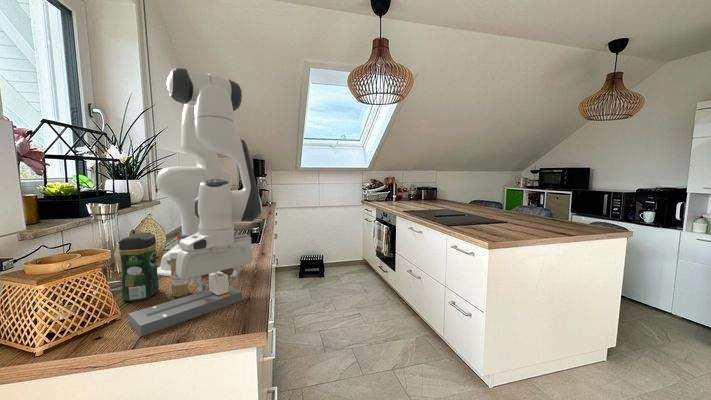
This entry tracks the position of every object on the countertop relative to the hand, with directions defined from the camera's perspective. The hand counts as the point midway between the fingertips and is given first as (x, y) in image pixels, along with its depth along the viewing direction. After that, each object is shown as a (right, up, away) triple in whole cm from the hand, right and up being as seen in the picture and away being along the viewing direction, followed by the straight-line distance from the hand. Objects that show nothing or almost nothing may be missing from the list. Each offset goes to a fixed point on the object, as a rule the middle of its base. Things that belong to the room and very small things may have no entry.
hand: (218, 285), depth 80 cm
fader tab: (0, -2, 0) cm, 2 cm away
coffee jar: (-25, -4, +4) cm, 26 cm away
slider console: (-5, -5, -6) cm, 9 cm away
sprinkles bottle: (-14, -4, +5) cm, 15 cm away
